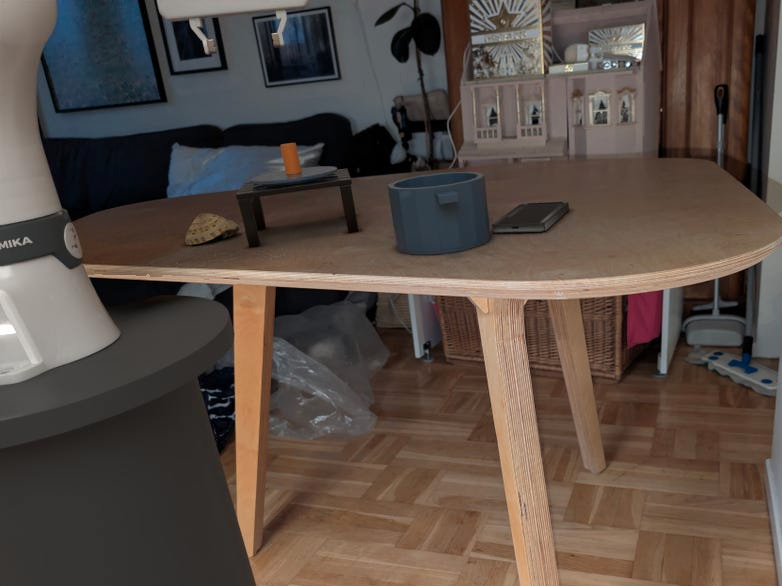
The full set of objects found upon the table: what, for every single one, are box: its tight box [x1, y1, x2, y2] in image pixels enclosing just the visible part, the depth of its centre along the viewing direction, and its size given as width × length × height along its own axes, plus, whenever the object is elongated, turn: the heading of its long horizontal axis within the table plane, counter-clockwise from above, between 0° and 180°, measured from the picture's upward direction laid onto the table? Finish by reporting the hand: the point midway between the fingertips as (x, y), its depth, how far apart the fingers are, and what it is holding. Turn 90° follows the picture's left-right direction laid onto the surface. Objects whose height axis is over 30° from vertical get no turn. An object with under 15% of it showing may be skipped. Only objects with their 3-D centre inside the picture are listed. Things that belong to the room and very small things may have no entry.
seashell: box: [184, 212, 242, 246], centre depth 115 cm, size 8×6×8 cm
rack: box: [235, 168, 360, 249], centre depth 113 cm, size 17×16×8 cm
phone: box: [491, 201, 570, 234], centre depth 102 cm, size 8×1×15 cm
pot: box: [387, 171, 491, 256], centre depth 94 cm, size 13×18×8 cm
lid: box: [249, 142, 338, 186], centre depth 110 cm, size 14×14×6 cm
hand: (245, 50), depth 100 cm, fingers open, 8 cm apart
